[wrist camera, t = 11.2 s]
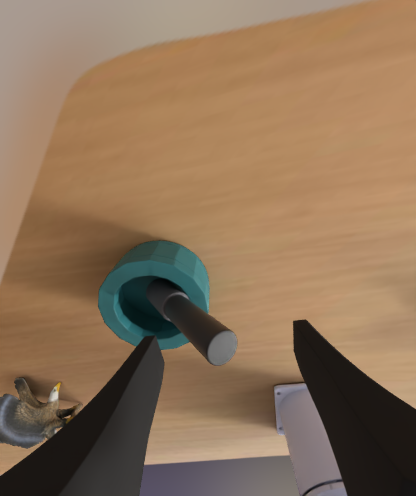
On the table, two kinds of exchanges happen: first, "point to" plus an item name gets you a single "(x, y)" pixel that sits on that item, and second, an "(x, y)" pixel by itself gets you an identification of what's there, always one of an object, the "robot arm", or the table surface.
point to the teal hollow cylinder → (134, 291)
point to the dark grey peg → (193, 322)
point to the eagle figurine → (31, 416)
